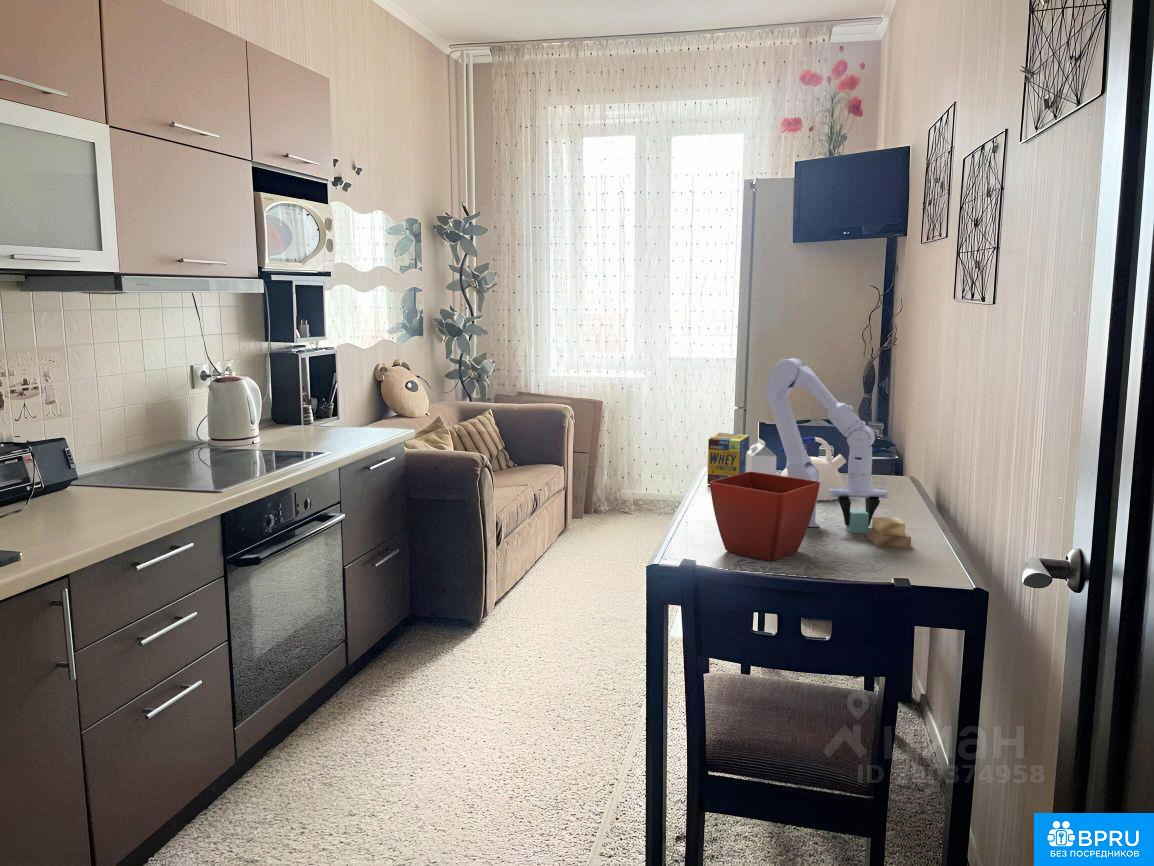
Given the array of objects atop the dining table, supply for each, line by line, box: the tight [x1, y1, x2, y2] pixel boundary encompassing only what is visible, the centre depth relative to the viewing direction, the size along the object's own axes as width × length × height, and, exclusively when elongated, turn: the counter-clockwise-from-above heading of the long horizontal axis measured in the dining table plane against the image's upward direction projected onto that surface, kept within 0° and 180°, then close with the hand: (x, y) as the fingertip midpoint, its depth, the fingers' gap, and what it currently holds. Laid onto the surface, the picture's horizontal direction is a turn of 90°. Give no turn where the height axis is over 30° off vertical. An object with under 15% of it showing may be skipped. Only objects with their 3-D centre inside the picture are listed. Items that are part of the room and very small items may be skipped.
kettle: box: [778, 436, 847, 500], centre depth 263 cm, size 20×21×18 cm
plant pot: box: [709, 472, 820, 562], centre depth 199 cm, size 19×19×17 cm
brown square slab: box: [867, 527, 912, 548], centre depth 208 cm, size 8×8×3 cm
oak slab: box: [871, 516, 906, 536], centre depth 208 cm, size 6×6×3 cm
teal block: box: [845, 509, 869, 534], centre depth 219 cm, size 4×4×5 cm
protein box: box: [706, 432, 750, 485], centre depth 280 cm, size 10×15×16 cm
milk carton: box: [746, 438, 778, 475], centre depth 248 cm, size 7×7×19 cm
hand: (857, 525), depth 220 cm, fingers closed on teal block, 4 cm apart
